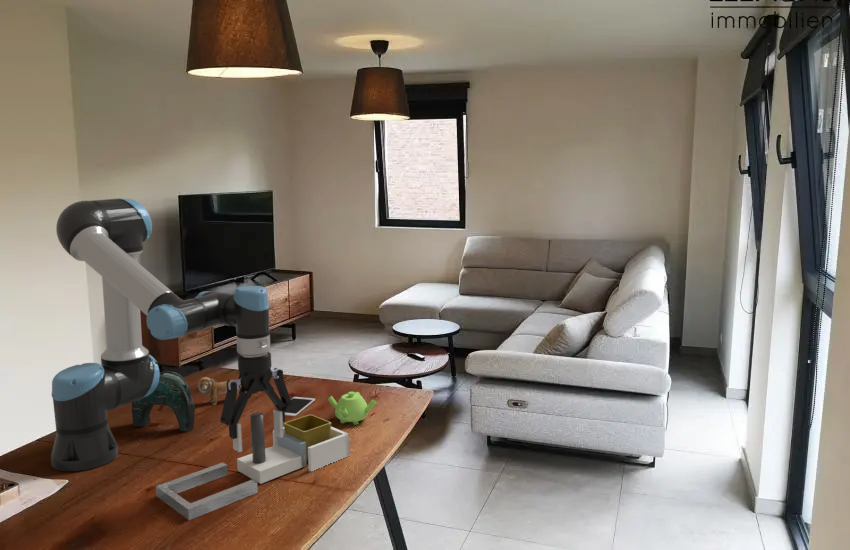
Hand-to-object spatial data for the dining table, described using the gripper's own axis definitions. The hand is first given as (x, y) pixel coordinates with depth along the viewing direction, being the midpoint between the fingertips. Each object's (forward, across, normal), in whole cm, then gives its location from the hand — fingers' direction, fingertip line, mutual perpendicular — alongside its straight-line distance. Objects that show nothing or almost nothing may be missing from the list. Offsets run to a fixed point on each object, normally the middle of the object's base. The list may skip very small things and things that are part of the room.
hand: (258, 443), depth 160 cm
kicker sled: (+7, +3, 0) cm, 8 cm away
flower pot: (+8, +14, 0) cm, 16 cm away
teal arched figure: (+8, -2, +46) cm, 47 cm away
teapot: (+8, +36, +10) cm, 39 cm away
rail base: (+8, -14, 0) cm, 16 cm away
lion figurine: (+8, +19, +52) cm, 56 cm away
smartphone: (+8, +32, +32) cm, 46 cm away
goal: (+8, +14, 0) cm, 17 cm away
